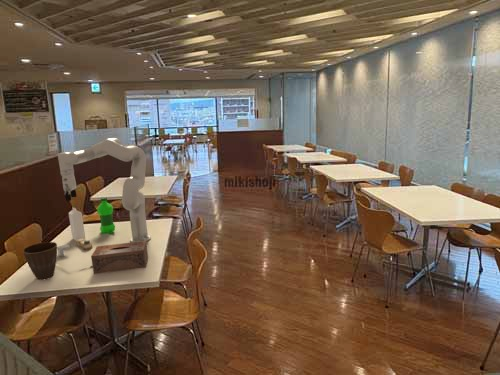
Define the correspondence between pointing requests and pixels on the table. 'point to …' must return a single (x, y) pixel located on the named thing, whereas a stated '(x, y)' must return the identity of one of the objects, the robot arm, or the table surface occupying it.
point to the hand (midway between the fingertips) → (71, 198)
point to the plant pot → (42, 259)
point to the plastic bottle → (106, 216)
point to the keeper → (61, 248)
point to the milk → (76, 224)
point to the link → (84, 244)
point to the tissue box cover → (119, 257)
